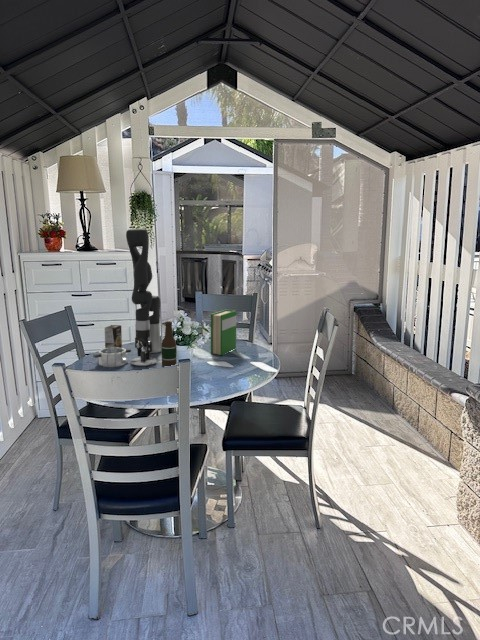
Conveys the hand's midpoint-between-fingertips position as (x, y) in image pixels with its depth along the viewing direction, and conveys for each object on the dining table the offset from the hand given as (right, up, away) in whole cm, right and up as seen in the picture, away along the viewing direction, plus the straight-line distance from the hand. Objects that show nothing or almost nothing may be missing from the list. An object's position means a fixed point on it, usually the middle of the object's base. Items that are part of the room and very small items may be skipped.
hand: (143, 357), depth 247 cm
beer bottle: (+14, -4, -4) cm, 16 cm away
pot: (-16, -3, 0) cm, 17 cm away
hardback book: (+42, +1, +26) cm, 50 cm away
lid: (0, -3, +1) cm, 3 cm away
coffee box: (-21, +1, +19) cm, 28 cm away
